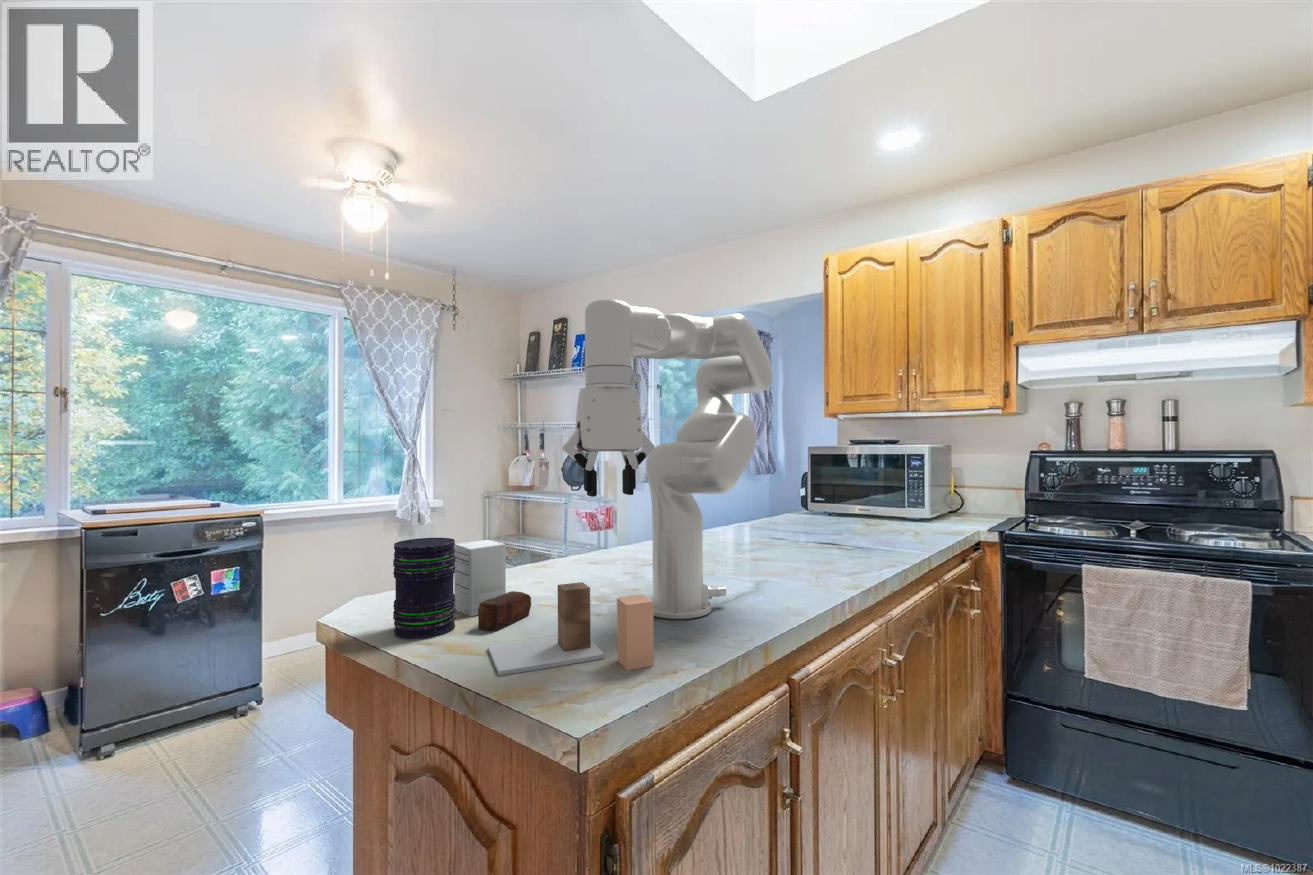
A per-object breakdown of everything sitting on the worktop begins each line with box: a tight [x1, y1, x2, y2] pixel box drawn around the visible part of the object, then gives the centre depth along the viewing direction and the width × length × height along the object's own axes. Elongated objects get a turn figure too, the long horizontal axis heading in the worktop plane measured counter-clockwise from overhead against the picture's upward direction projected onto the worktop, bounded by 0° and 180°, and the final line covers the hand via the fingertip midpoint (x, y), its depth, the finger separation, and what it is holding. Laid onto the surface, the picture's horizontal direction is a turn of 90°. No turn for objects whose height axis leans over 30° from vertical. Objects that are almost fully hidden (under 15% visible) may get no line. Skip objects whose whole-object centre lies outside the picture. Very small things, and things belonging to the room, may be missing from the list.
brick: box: [477, 590, 532, 632], centre depth 101 cm, size 11×4×5 cm, turn 160°
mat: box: [487, 635, 605, 677], centre depth 85 cm, size 15×11×1 cm
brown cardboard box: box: [557, 581, 592, 652], centre depth 87 cm, size 4×4×9 cm
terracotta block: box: [616, 594, 655, 671], centre depth 82 cm, size 4×4×9 cm
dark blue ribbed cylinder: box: [392, 537, 457, 641], centre depth 97 cm, size 10×10×15 cm
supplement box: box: [453, 539, 507, 618], centre depth 110 cm, size 7×7×13 cm
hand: (610, 493), depth 90 cm, fingers open, 5 cm apart
